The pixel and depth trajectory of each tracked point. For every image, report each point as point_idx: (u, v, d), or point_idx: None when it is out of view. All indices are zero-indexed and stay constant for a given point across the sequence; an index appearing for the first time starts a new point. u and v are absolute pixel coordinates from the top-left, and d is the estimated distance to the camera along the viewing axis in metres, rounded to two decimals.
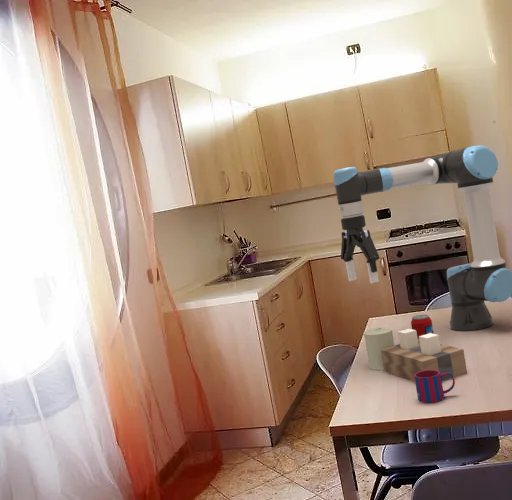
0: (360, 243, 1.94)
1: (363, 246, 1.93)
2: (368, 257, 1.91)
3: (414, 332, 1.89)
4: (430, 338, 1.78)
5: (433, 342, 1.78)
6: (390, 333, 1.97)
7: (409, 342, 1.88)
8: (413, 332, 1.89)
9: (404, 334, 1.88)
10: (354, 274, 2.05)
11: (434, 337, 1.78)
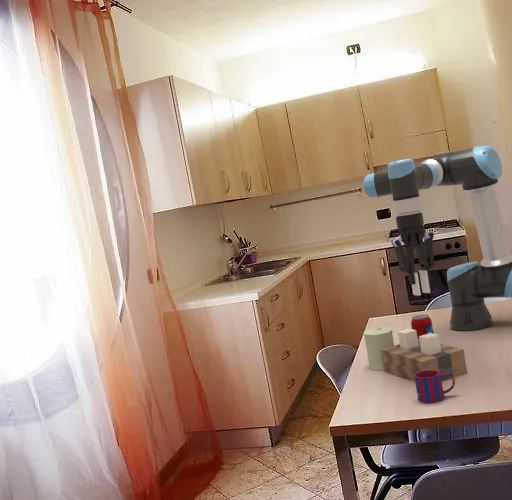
0: (405, 248, 1.79)
1: (406, 253, 1.78)
2: None
3: (414, 332, 1.89)
4: (430, 338, 1.78)
5: (433, 342, 1.78)
6: (390, 333, 1.97)
7: (409, 342, 1.88)
8: (413, 332, 1.89)
9: (404, 334, 1.88)
10: (425, 286, 1.79)
11: (434, 337, 1.78)
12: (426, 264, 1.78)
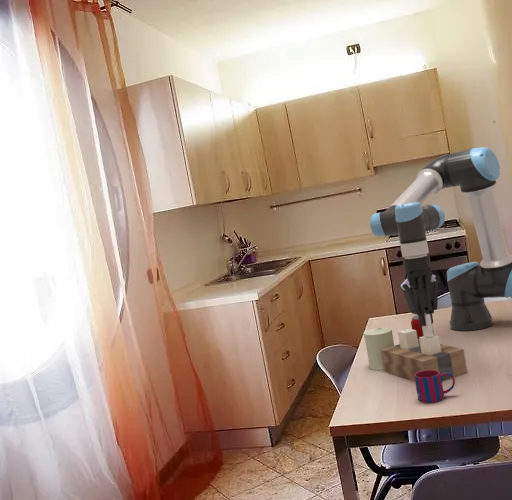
0: (413, 290, 1.79)
1: (415, 295, 1.79)
2: None
3: (414, 332, 1.89)
4: (430, 339, 1.78)
5: (433, 343, 1.78)
6: (390, 333, 1.97)
7: (409, 342, 1.88)
8: (413, 332, 1.89)
9: (404, 334, 1.88)
10: None
11: (434, 338, 1.79)
12: (430, 307, 1.79)
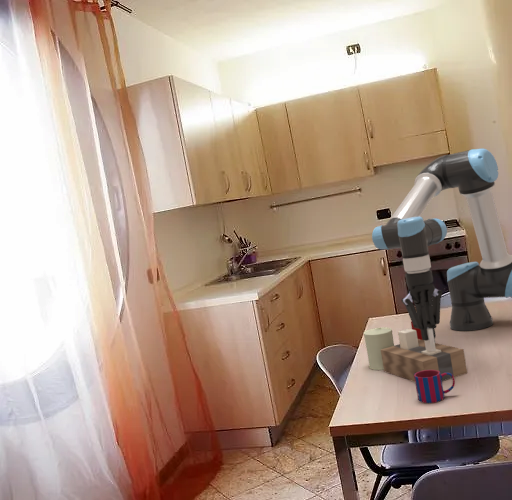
0: (416, 305, 1.80)
1: (417, 310, 1.80)
2: None
3: (414, 332, 1.89)
4: (433, 353, 1.78)
5: None
6: (390, 333, 1.97)
7: (409, 342, 1.88)
8: (413, 332, 1.89)
9: (404, 334, 1.88)
10: None
11: (437, 352, 1.79)
12: (432, 322, 1.79)
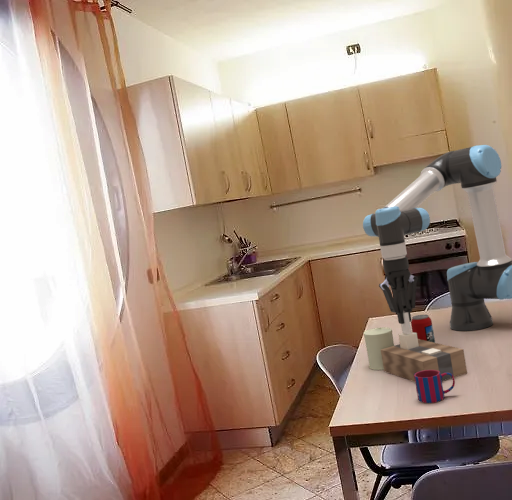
0: (392, 290, 1.90)
1: (394, 294, 1.90)
2: None
3: (414, 335, 1.89)
4: (433, 353, 1.78)
5: None
6: (390, 333, 1.97)
7: (409, 345, 1.89)
8: (413, 335, 1.89)
9: (404, 337, 1.88)
10: None
11: (437, 352, 1.79)
12: (408, 306, 1.89)
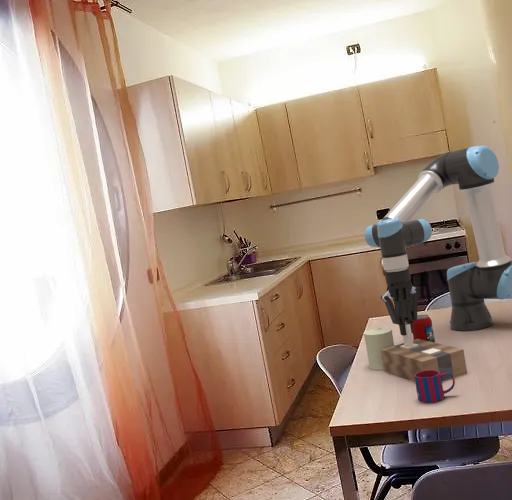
0: (394, 302, 1.90)
1: (396, 306, 1.90)
2: None
3: (416, 346, 1.89)
4: (433, 353, 1.78)
5: None
6: (390, 333, 1.97)
7: None
8: (415, 346, 1.89)
9: (406, 348, 1.89)
10: None
11: (437, 352, 1.79)
12: (410, 318, 1.89)
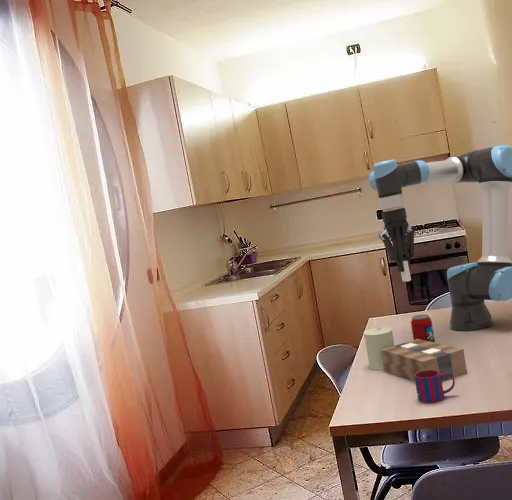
0: (392, 240, 1.99)
1: (393, 244, 1.98)
2: None
3: None
4: (433, 353, 1.78)
5: None
6: (390, 333, 1.97)
7: None
8: None
9: None
10: None
11: (437, 352, 1.79)
12: (407, 255, 1.98)
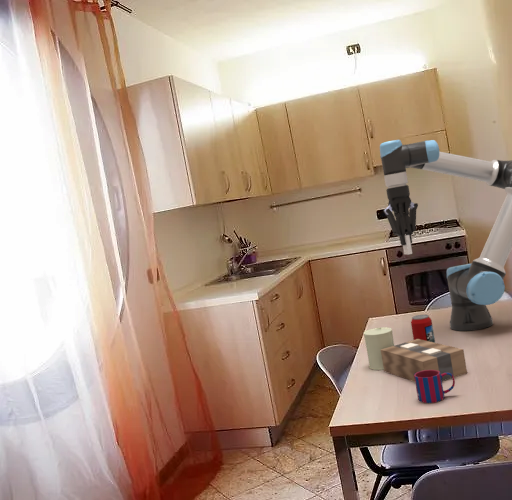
0: (395, 215, 2.13)
1: (396, 219, 2.13)
2: None
3: None
4: (433, 353, 1.78)
5: None
6: (390, 333, 1.97)
7: None
8: None
9: None
10: None
11: (437, 352, 1.79)
12: (409, 229, 2.12)
